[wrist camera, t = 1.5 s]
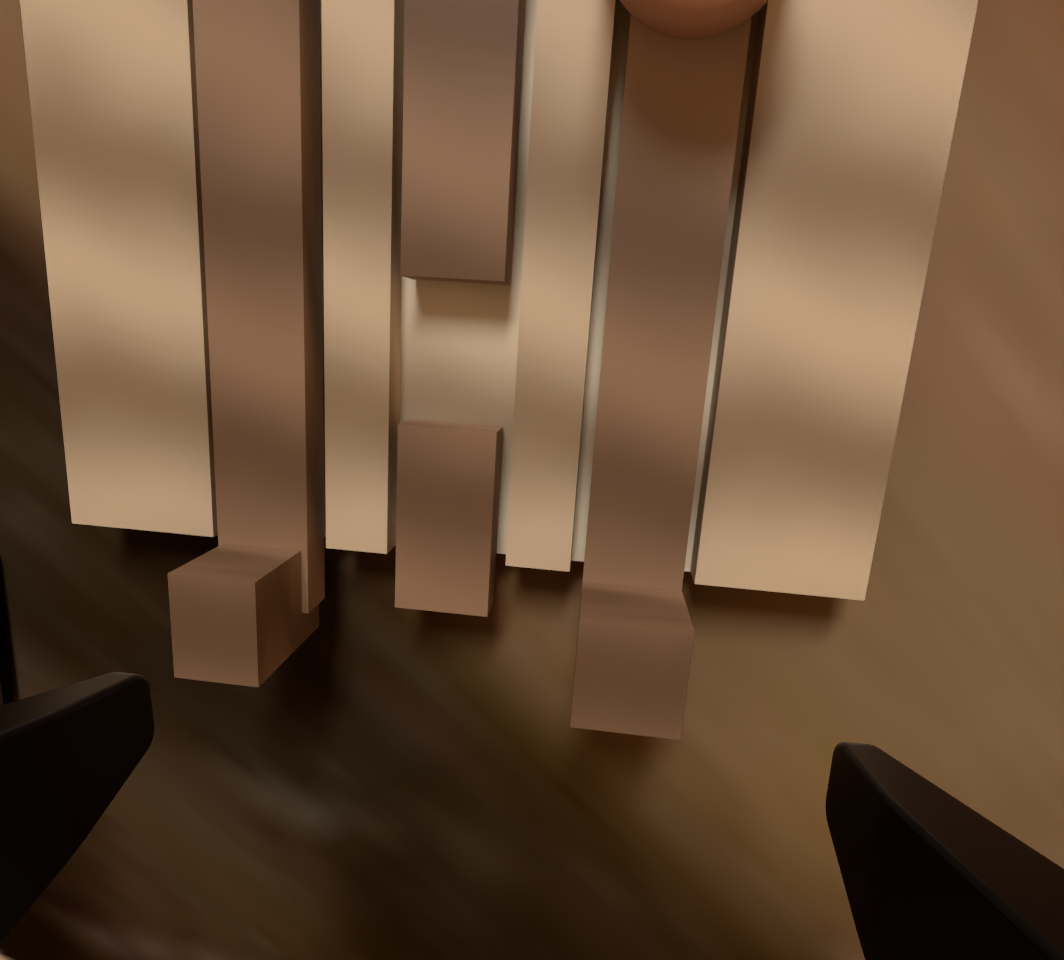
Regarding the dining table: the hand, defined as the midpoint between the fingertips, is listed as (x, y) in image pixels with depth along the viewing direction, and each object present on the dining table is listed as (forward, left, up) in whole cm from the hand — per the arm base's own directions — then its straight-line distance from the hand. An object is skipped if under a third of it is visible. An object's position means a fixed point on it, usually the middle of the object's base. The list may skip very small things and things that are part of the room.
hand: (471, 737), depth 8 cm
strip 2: (+6, -3, -11) cm, 13 cm away
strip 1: (+6, +8, -11) cm, 15 cm away
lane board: (+8, +3, -13) cm, 15 cm away
